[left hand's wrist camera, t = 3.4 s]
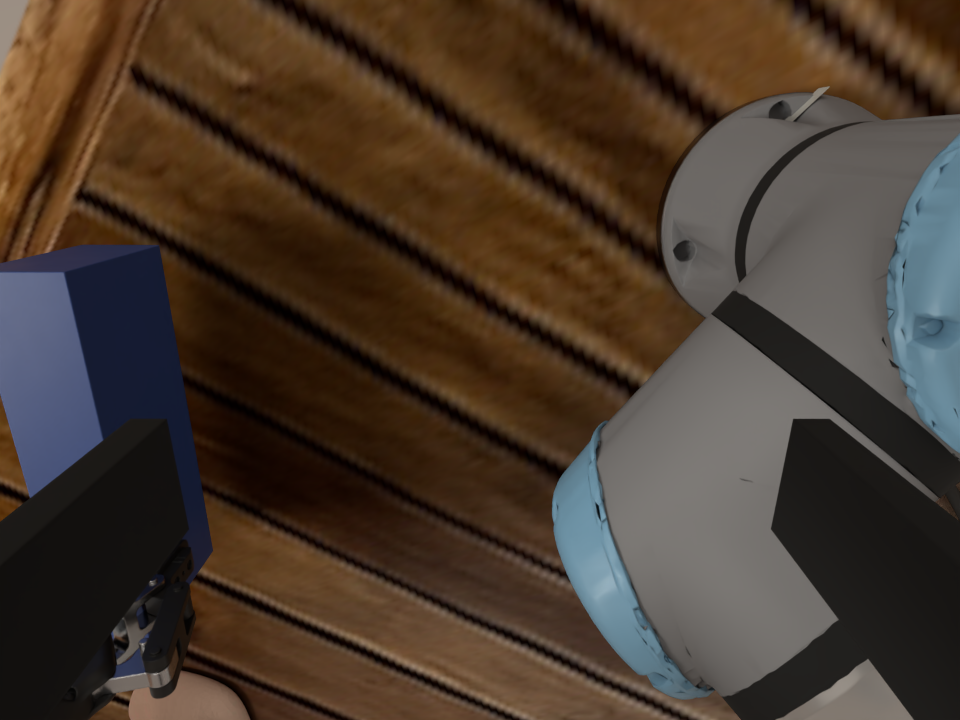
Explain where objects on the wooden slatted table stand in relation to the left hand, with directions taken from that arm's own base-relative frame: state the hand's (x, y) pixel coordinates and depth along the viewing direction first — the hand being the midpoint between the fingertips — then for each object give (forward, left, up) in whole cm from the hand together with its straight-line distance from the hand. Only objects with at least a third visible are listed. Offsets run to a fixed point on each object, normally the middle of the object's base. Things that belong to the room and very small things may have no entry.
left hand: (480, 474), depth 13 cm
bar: (+14, +20, -26) cm, 36 cm away
